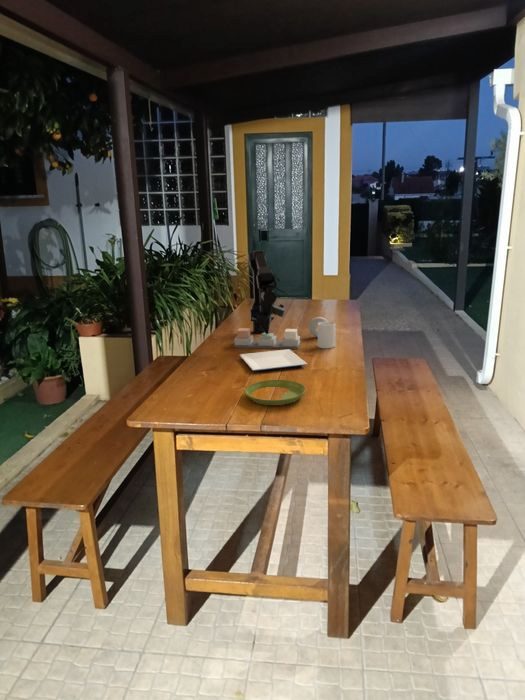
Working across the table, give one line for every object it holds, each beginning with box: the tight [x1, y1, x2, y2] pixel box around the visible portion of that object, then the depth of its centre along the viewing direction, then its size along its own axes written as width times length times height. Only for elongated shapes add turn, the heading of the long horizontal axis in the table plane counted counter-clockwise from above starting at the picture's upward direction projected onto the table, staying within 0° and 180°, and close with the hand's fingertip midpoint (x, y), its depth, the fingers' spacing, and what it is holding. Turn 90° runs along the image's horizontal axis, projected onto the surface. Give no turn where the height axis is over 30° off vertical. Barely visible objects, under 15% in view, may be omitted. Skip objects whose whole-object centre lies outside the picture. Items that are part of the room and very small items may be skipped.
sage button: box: [260, 332, 275, 339], centre depth 250 cm, size 5×5×4 cm
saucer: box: [244, 379, 306, 406], centre depth 188 cm, size 21×21×3 cm
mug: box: [317, 320, 336, 349], centre depth 247 cm, size 12×8×10 cm, turn 164°
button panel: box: [233, 334, 301, 350], centre depth 251 cm, size 10×29×4 cm, turn 79°
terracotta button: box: [236, 327, 251, 339], centre depth 252 cm, size 5×5×4 cm
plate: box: [239, 349, 308, 372], centre depth 225 cm, size 22×22×2 cm
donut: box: [308, 316, 328, 338], centre depth 260 cm, size 10×4×10 cm, turn 83°
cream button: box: [284, 328, 298, 340], centre depth 247 cm, size 5×5×4 cm
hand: (267, 333), depth 250 cm, fingers closed
